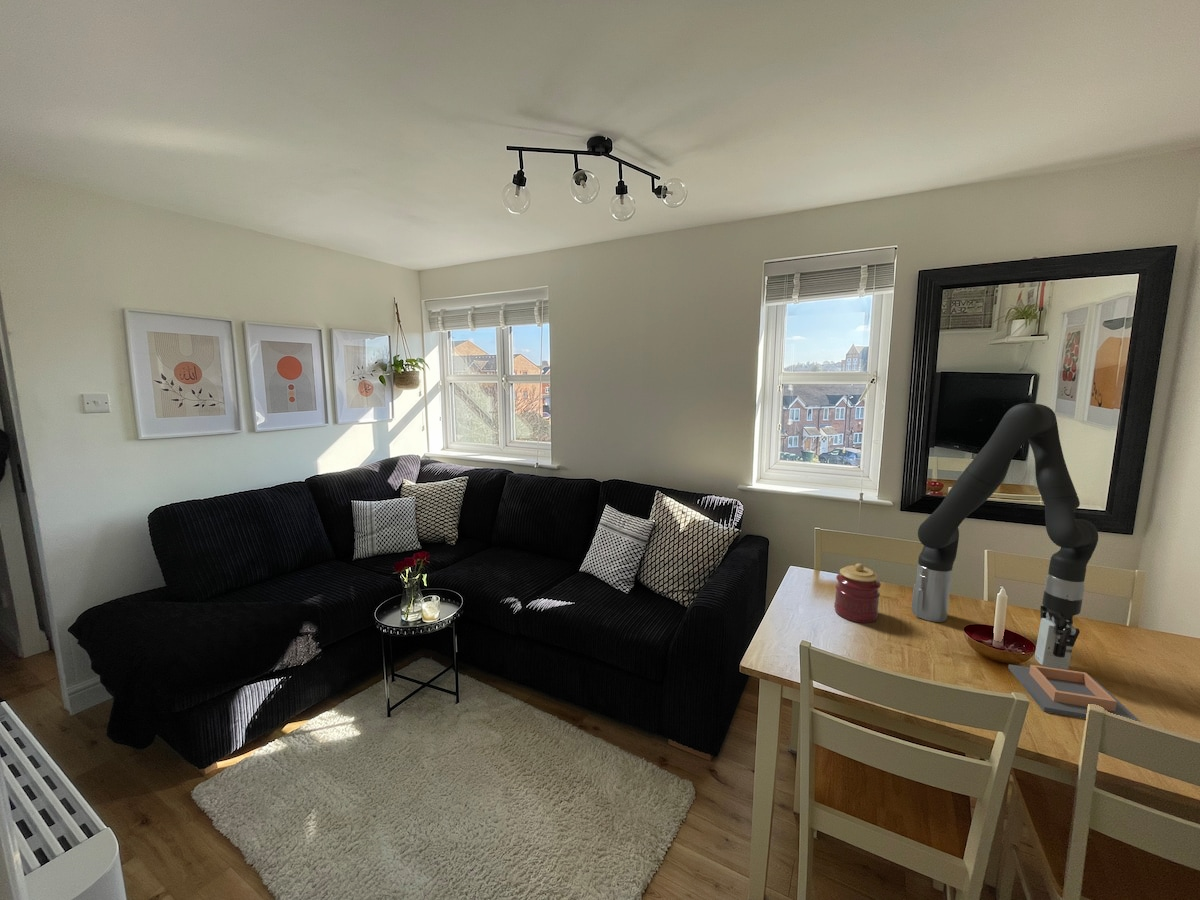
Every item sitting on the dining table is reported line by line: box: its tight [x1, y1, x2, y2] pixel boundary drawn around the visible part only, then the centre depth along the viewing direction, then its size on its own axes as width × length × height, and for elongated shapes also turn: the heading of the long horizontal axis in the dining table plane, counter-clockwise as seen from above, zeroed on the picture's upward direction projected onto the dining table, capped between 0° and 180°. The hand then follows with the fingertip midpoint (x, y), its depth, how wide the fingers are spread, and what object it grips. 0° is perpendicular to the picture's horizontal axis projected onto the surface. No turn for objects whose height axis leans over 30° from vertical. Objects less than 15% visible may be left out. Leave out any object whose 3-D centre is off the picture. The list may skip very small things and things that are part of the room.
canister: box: [833, 562, 881, 624], centre depth 162 cm, size 13×13×18 cm
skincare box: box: [1034, 617, 1076, 670], centre depth 133 cm, size 6×4×12 cm
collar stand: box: [1007, 663, 1142, 722], centre depth 121 cm, size 18×18×4 cm
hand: (1053, 651), depth 133 cm, fingers closed on skincare box, 4 cm apart
